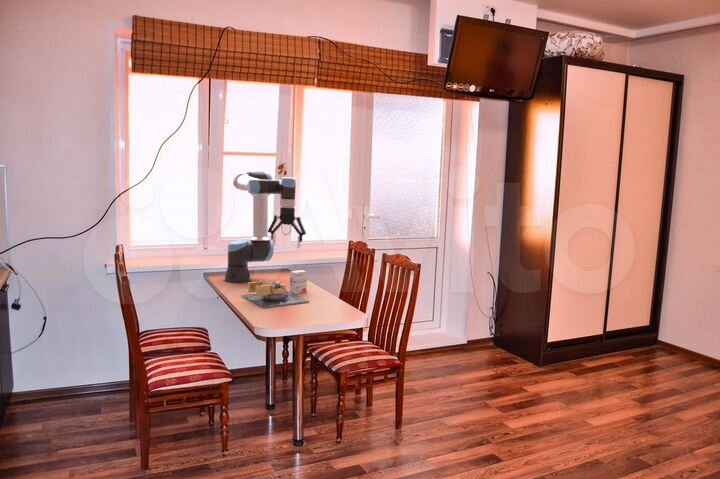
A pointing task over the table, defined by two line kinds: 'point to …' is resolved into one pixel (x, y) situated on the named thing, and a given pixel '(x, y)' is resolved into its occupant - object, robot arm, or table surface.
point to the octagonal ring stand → (265, 288)
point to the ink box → (298, 281)
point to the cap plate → (273, 303)
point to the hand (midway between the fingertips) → (286, 246)
